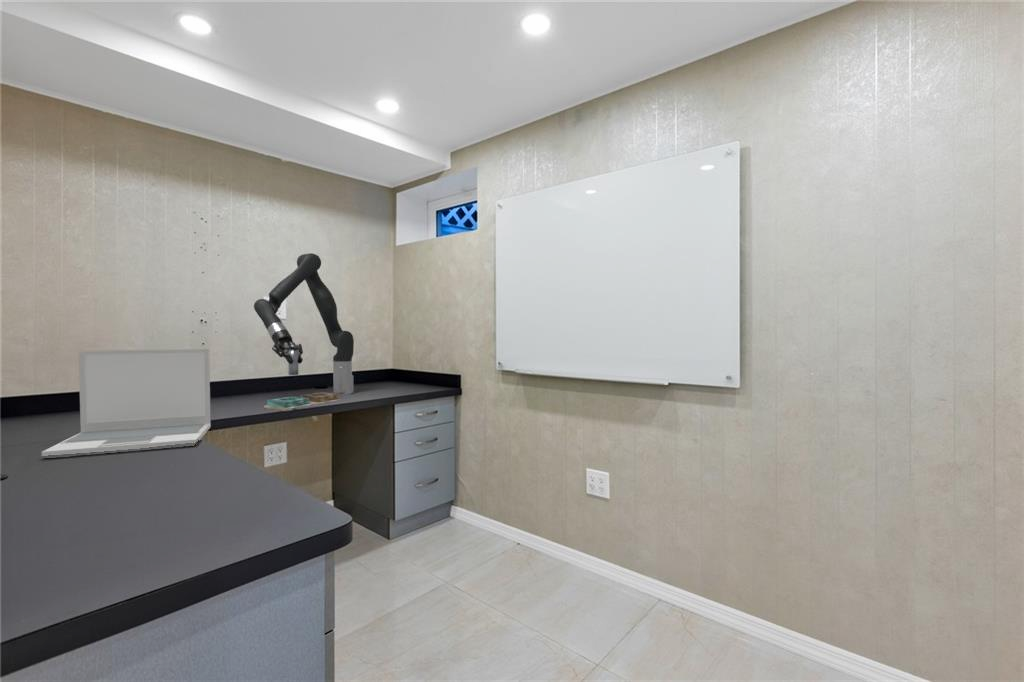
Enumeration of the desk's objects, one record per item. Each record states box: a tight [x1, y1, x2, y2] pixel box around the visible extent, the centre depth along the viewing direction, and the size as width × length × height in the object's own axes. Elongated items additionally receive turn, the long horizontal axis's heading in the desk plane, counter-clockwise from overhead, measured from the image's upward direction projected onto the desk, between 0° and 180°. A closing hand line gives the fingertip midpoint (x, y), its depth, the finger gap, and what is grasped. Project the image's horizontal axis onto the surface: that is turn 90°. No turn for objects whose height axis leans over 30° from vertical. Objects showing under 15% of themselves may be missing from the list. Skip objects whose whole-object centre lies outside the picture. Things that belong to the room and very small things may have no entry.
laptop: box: [41, 348, 212, 457], centre depth 146 cm, size 35×26×28 cm
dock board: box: [263, 391, 342, 412], centre depth 217 cm, size 29×15×4 cm, turn 150°
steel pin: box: [287, 344, 300, 376], centre depth 212 cm, size 5×5×13 cm
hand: (296, 362), depth 211 cm, fingers closed on steel pin, 4 cm apart
